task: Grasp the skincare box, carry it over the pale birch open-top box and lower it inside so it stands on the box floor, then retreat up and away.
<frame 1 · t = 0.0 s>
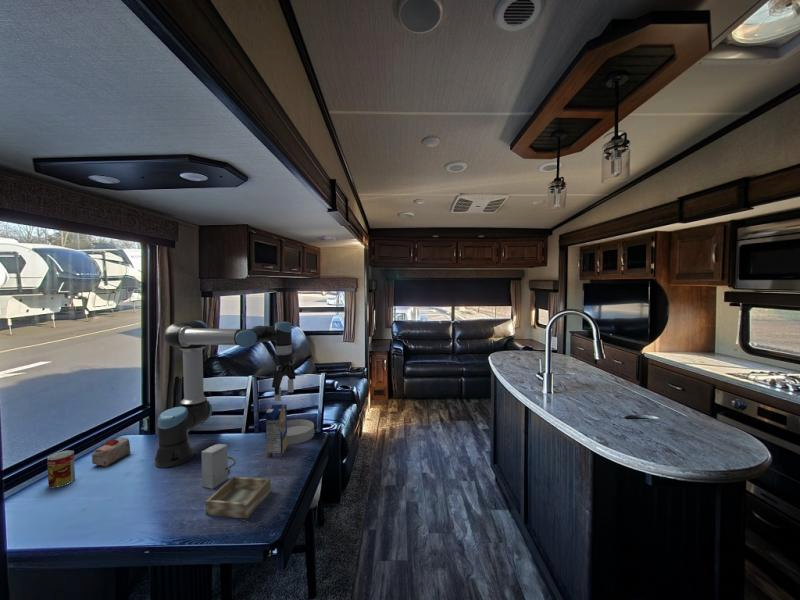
hand: (284, 396, 167), 28 cm above the table, fingers open, 13 cm apart
skincare box: (215, 483, 142), on the table
food item: (112, 460, 161), on the table
dish: (293, 436, 187), on the table
birch box: (239, 502, 129), on the table
canned food: (62, 483, 142), on the table
extension cord: (220, 468, 155), on the table
beverage box: (277, 452, 168), on the table
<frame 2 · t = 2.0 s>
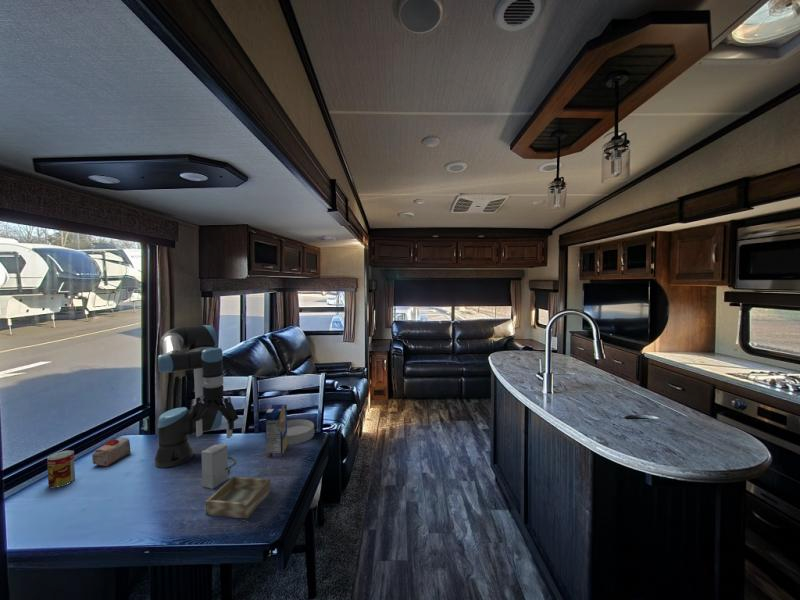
hand: (214, 436, 141), 20 cm above the table, fingers open, 13 cm apart
nothing on the table moved.
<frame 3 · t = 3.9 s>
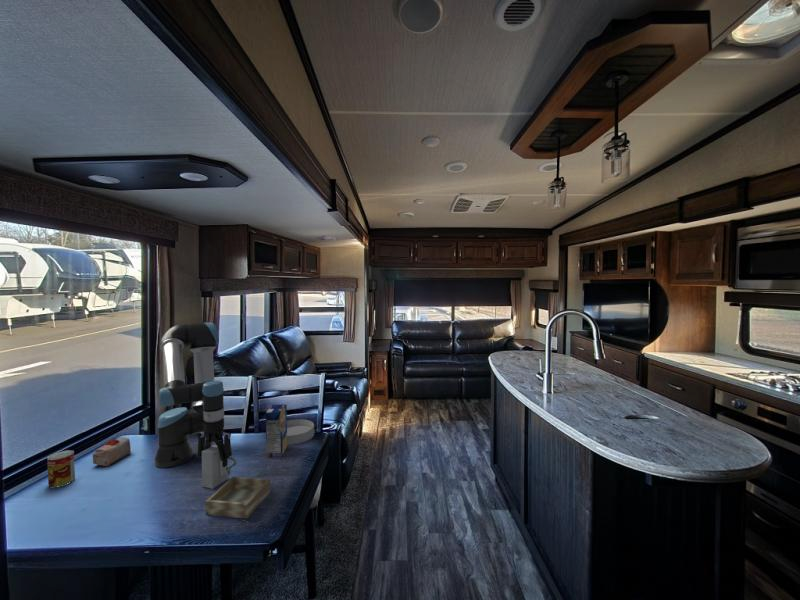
hand: (215, 473, 142), 4 cm above the table, fingers closed on skincare box, 6 cm apart
skincare box: (215, 483, 142), on the table, touching gripper
everything else where it was.
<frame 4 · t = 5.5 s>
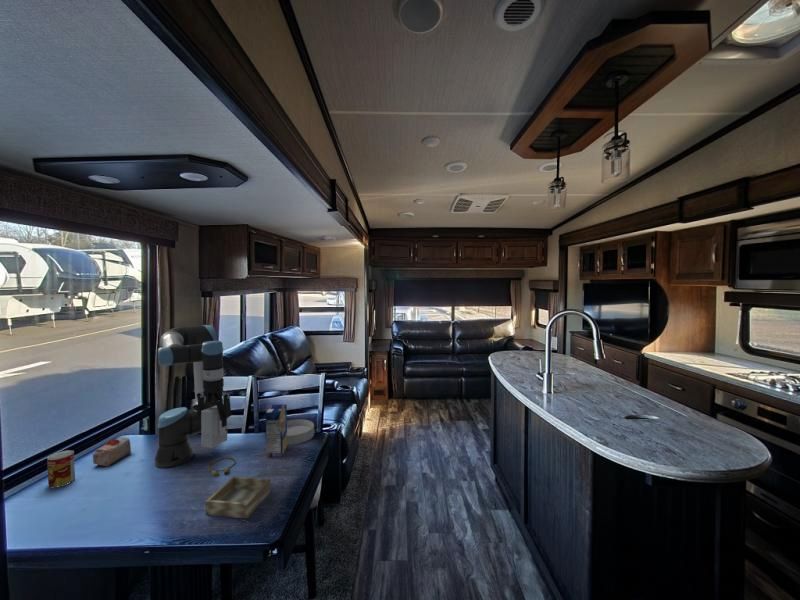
hand: (214, 433, 141), 21 cm above the table, fingers closed on skincare box, 6 cm apart
skincare box: (214, 443, 141), point 17 cm above the table, touching gripper
everything else where it was.
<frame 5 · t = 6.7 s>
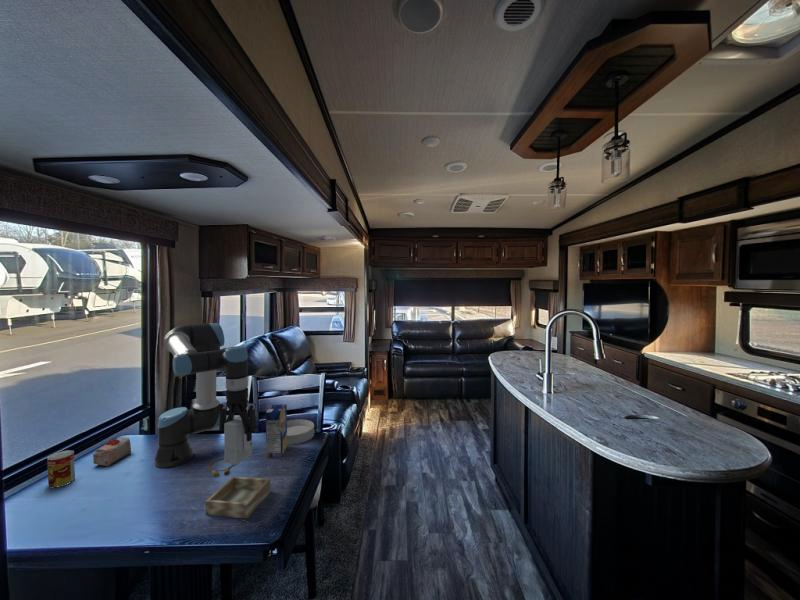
hand: (238, 448, 128), 21 cm above the table, fingers closed on skincare box, 6 cm apart
skincare box: (238, 459, 128), point 17 cm above the table, touching gripper
everything else where it was.
when the fingers open (6 cm above the table, at t = 9.8 s): skincare box drops 1 cm, resting on birch box.
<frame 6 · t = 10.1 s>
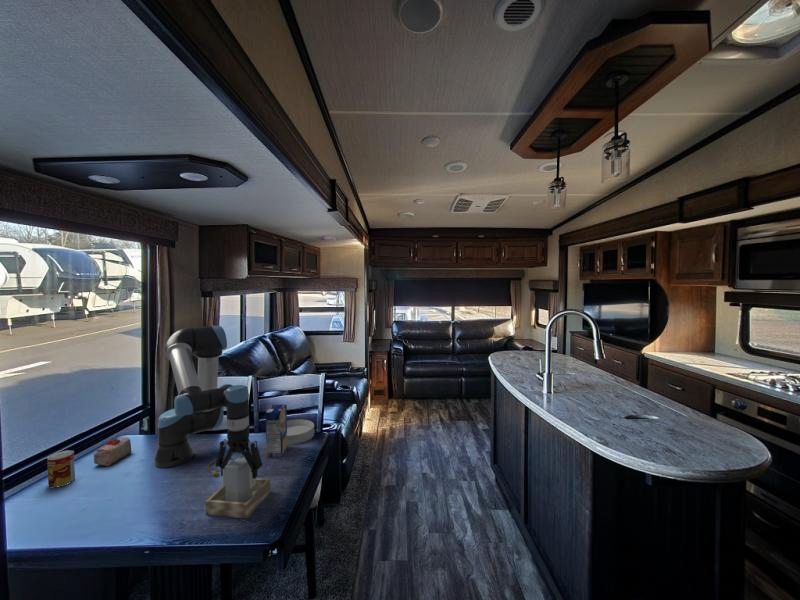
hand: (239, 485, 129), 7 cm above the table, fingers open, 10 cm apart
skincare box: (239, 500, 129), point 1 cm above the table, touching birch box
everything else where it was.
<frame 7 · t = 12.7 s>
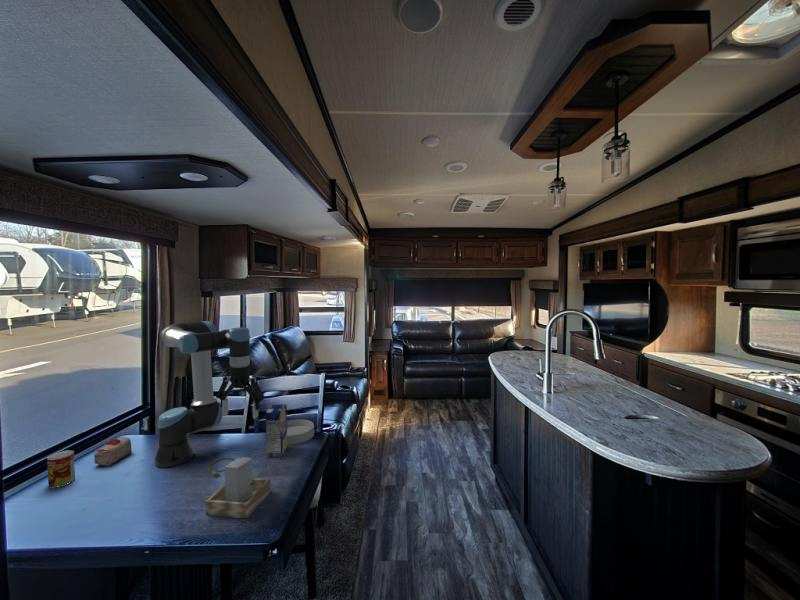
hand: (240, 416, 141), 28 cm above the table, fingers open, 13 cm apart
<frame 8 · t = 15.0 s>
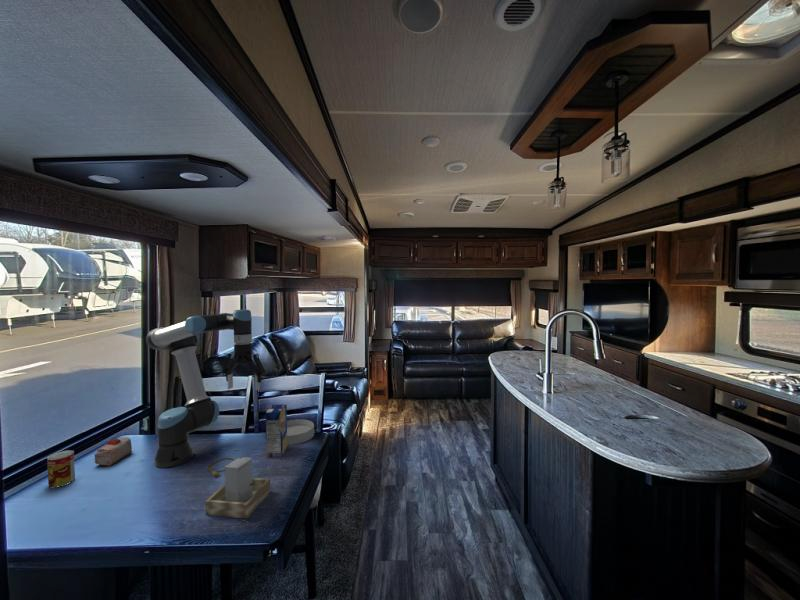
hand: (244, 388, 157), 35 cm above the table, fingers open, 13 cm apart
at the end: skincare box inside the target area on the birch box (0.2 cm from its centre), point 0.6 cm above the birch box's base; skincare box tilted 0°; the gripper is holding nothing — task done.
